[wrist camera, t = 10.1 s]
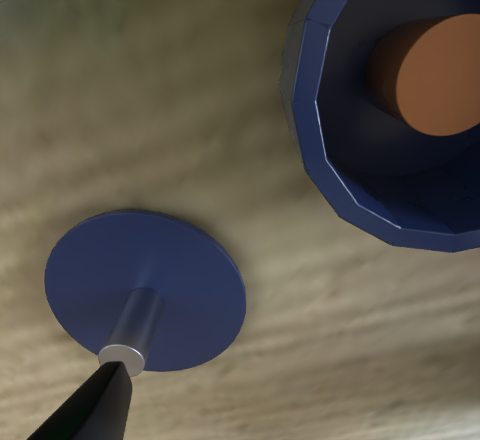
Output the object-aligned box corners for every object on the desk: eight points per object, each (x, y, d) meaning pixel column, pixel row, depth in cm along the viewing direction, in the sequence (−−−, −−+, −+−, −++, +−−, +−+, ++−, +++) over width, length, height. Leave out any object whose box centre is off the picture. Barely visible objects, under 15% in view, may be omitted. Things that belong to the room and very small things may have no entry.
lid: (285, 306, 23) (293, 380, 18) (151, 382, 27) (127, 459, 22) (149, 161, 19) (110, 205, 14) (13, 276, 23) (-54, 342, 18)
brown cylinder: (471, 78, 16) (534, 89, 12) (390, 132, 17) (425, 157, 13) (433, -4, 14) (491, -18, 11) (347, 62, 16) (375, 69, 12)
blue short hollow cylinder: (578, 91, 16) (755, 120, 11) (358, 224, 20) (400, 299, 14) (482, -180, 12) (680, -371, 7) (230, 47, 16) (216, 52, 10)
